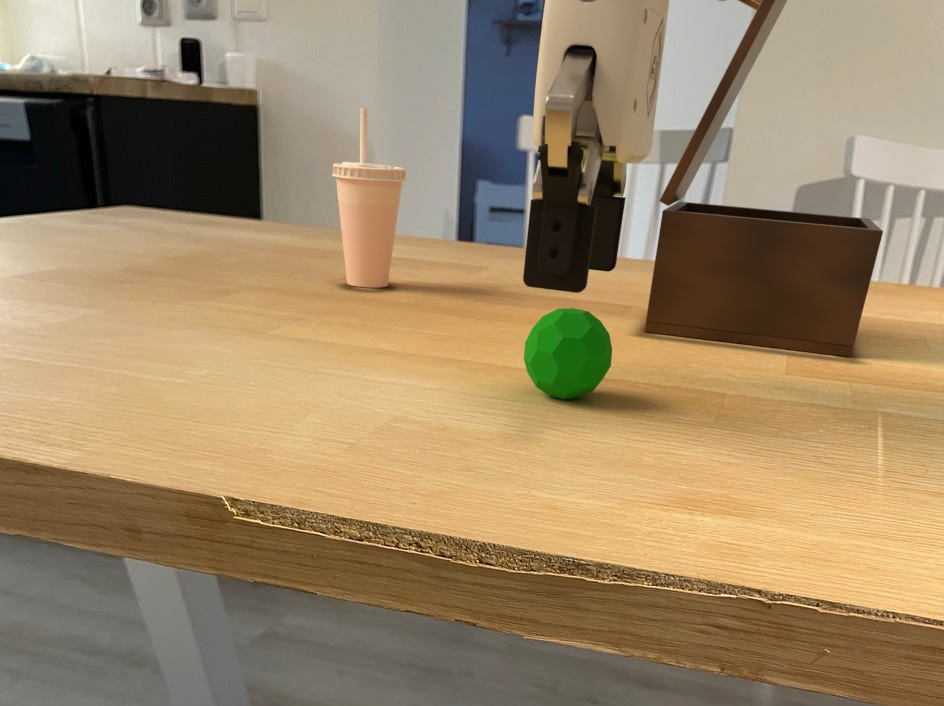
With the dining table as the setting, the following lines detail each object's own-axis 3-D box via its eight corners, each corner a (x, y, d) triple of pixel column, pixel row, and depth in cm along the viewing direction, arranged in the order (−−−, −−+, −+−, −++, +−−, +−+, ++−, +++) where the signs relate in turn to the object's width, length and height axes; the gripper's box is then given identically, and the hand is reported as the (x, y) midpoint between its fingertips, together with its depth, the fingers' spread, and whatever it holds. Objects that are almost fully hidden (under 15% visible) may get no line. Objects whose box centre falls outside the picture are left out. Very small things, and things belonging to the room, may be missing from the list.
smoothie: (341, 276, 90) (342, 106, 83) (408, 282, 89) (414, 112, 82) (323, 285, 84) (323, 105, 77) (394, 292, 83) (400, 110, 77)
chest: (842, 329, 82) (869, 218, 78) (850, 357, 71) (883, 230, 67) (661, 308, 85) (678, 201, 81) (644, 332, 75) (662, 210, 71)
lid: (796, -16, 72) (733, -49, 72) (797, -44, 62) (724, -82, 62) (683, 197, 81) (628, 167, 81) (668, 206, 70) (604, 171, 70)
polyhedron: (535, 380, 58) (544, 299, 56) (614, 393, 57) (625, 310, 54) (509, 398, 54) (517, 311, 52) (593, 412, 53) (605, 323, 50)
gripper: (685, -163, 36) (616, 309, 44) (713, -72, 51) (657, 269, 59) (494, -166, 37) (462, 289, 46) (575, -77, 52) (540, 255, 60)
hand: (572, 277), depth 52 cm, fingers open, 9 cm apart
